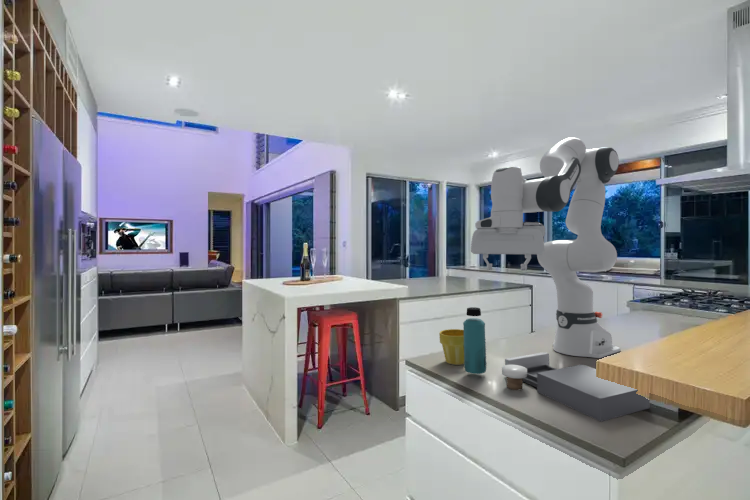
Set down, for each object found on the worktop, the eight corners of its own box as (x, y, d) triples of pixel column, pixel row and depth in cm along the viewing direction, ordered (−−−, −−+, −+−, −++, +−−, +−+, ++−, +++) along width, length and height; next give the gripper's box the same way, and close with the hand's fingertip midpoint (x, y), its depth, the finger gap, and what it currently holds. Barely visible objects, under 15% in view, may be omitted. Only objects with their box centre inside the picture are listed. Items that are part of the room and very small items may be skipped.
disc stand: (515, 383, 106) (515, 370, 106) (525, 388, 103) (525, 375, 103) (503, 385, 105) (503, 373, 105) (513, 391, 101) (513, 377, 101)
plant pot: (437, 357, 132) (437, 328, 131) (468, 356, 131) (468, 328, 131) (442, 367, 121) (441, 336, 121) (475, 366, 121) (474, 335, 121)
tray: (505, 375, 112) (504, 358, 112) (545, 367, 118) (544, 352, 118) (555, 398, 95) (555, 379, 95) (598, 388, 101) (598, 370, 101)
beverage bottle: (487, 379, 110) (486, 309, 109) (463, 378, 111) (462, 309, 110) (485, 372, 116) (484, 306, 115) (463, 371, 117) (462, 305, 117)
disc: (515, 369, 108) (515, 363, 108) (532, 376, 102) (532, 370, 102) (496, 372, 105) (496, 366, 105) (513, 380, 100) (513, 373, 99)
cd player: (537, 391, 100) (537, 372, 100) (582, 382, 106) (582, 364, 106) (600, 421, 83) (600, 398, 83) (649, 408, 89) (649, 386, 89)
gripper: (542, 222, 112) (542, 270, 112) (470, 223, 117) (470, 269, 117) (547, 221, 106) (547, 271, 106) (471, 222, 111) (470, 270, 111)
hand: (506, 270), depth 112 cm, fingers open, 8 cm apart
